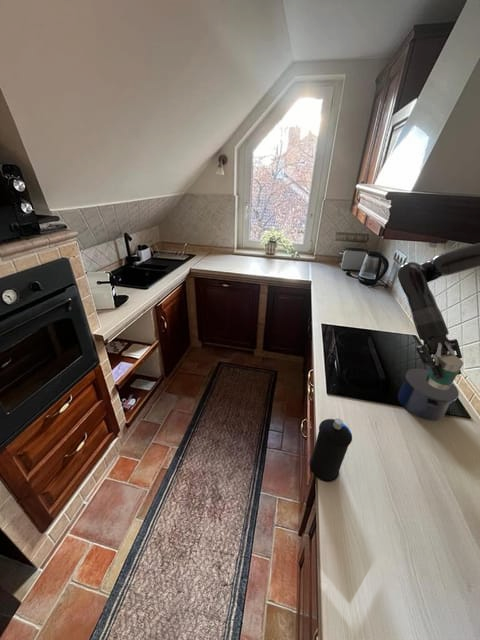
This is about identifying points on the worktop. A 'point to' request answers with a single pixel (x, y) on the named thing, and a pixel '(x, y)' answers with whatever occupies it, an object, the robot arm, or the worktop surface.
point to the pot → (425, 396)
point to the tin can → (446, 371)
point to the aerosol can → (330, 449)
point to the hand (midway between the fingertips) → (448, 376)
